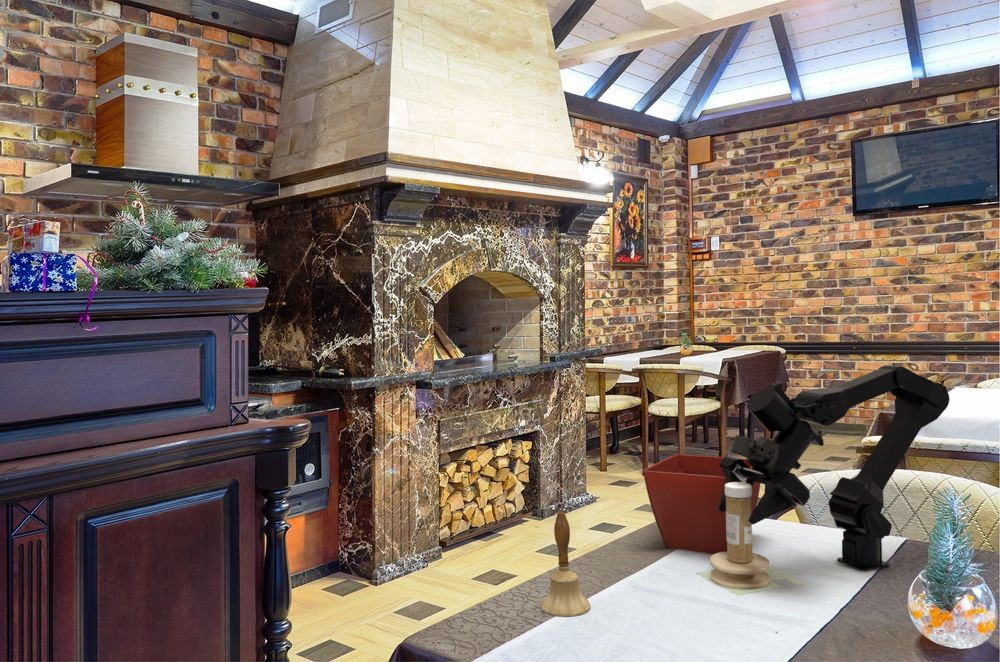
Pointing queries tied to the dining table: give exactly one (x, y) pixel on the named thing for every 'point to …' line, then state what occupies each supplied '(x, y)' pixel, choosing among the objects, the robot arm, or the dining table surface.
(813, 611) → the dining table surface
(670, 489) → the plant pot
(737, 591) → the notched board
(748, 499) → the sprinkles bottle
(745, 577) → the bobbin
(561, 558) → the hand bell
